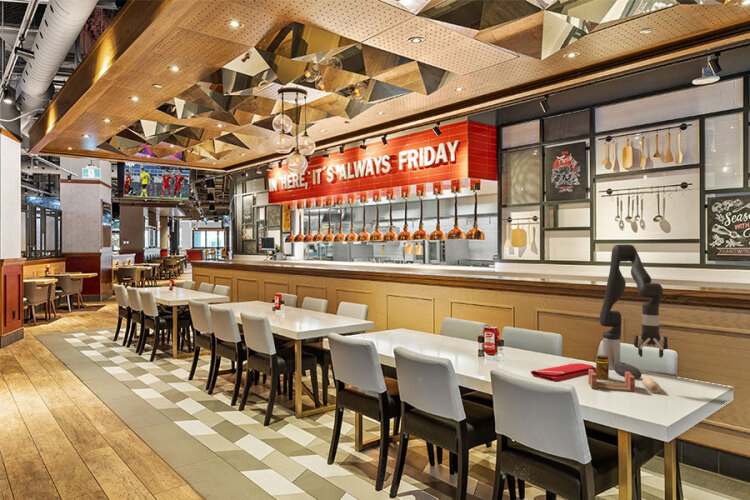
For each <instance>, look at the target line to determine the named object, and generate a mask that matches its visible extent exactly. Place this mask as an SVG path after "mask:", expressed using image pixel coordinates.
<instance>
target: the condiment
mask: <svg viewBox="0 0 750 500" xmlns="http://www.w3.org/2000/svg"><path fill="white" fill-rule="evenodd" d="M595 367H596V372H595V374H596V375H597V380H599V381H605V382H609V381H610V376H609V374H610V373H609V370H610V369H609V362H608V357H607V356H603V354H601V355H597V356H596V361H595Z"/></svg>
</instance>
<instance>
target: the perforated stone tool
mask: <svg viewBox="0 0 750 500" xmlns="http://www.w3.org/2000/svg"><path fill="white" fill-rule="evenodd" d="M625 371H627V372H630V373H631V374H632V375H633V376H634V377H635V380H636V379H641V378H642V371H641V370H640V369H639V368H637V367H636V366H634V365H632V364H630V363H629V364H628V363H626V362H622V361H620V362H616V363H615V370H614V372H615V373H616V374H618V375H620V376H621V377H625Z"/></svg>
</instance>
